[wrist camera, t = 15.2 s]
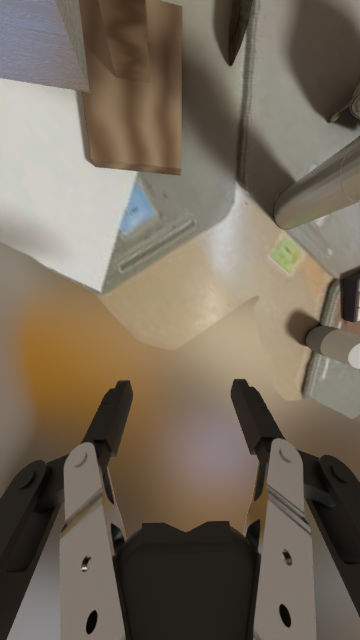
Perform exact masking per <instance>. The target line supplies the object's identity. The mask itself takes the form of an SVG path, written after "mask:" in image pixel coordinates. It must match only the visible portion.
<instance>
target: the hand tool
mask: <svg viewBox="0 0 360 640" xmlns="http://www.w3.org/2000/svg"><path fill="white" fill-rule="evenodd" d="M252 1H253V0H234V1H233V9H232V16H231V22H230V29H229V55H230V65H231V66H232V65H233V63H234V60H235V58H236V55H237V53H238V51H239V49H240V46H241V43H242V40H243V37H244V34H245V31H246V28H247V26H248V22H249V17H250V12H251V6H252Z"/></svg>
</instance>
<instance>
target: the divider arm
mask: <svg viewBox="0 0 360 640" xmlns="http://www.w3.org/2000/svg"><path fill="white" fill-rule="evenodd" d="M0 78H3V79H10V80H16V81H22V82H28V83H34V84H41V85H47V86H53V87H59V88H65V89H71V90H78V91H84V92H90V89H89V81H88V73H87V64H86V56H85V48H84V40H83V32H82V24H81V15H80V7H79V0H0Z"/></svg>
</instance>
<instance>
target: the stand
mask: <svg viewBox="0 0 360 640" xmlns="http://www.w3.org/2000/svg"><path fill="white" fill-rule="evenodd" d="M79 7H80V15H81V24H82V32H83V40H84V48H85V56H86V64H87V73H88V81H89V89H90V92H84V91H82V94H83V102H84V109H85V117H86V125H87V132H88V140H89V147H90V155H91V160H92V161H93V163H94V165H95V167H102V168H112V169H122V170H132V171H142V172H152V173H162V174H172V175H180V174H181V155H182V6H179V5H175V4H171V3H167V2H163V1H159V0H79Z"/></svg>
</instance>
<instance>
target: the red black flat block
mask: <svg viewBox="0 0 360 640" xmlns="http://www.w3.org/2000/svg"><path fill="white" fill-rule="evenodd" d="M344 292H345V296H344V320H346V321H350V322H356V321H359V320H360V272H359V273H357V274H354V275H352V276H350V277H347V278H345V279H344Z"/></svg>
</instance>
